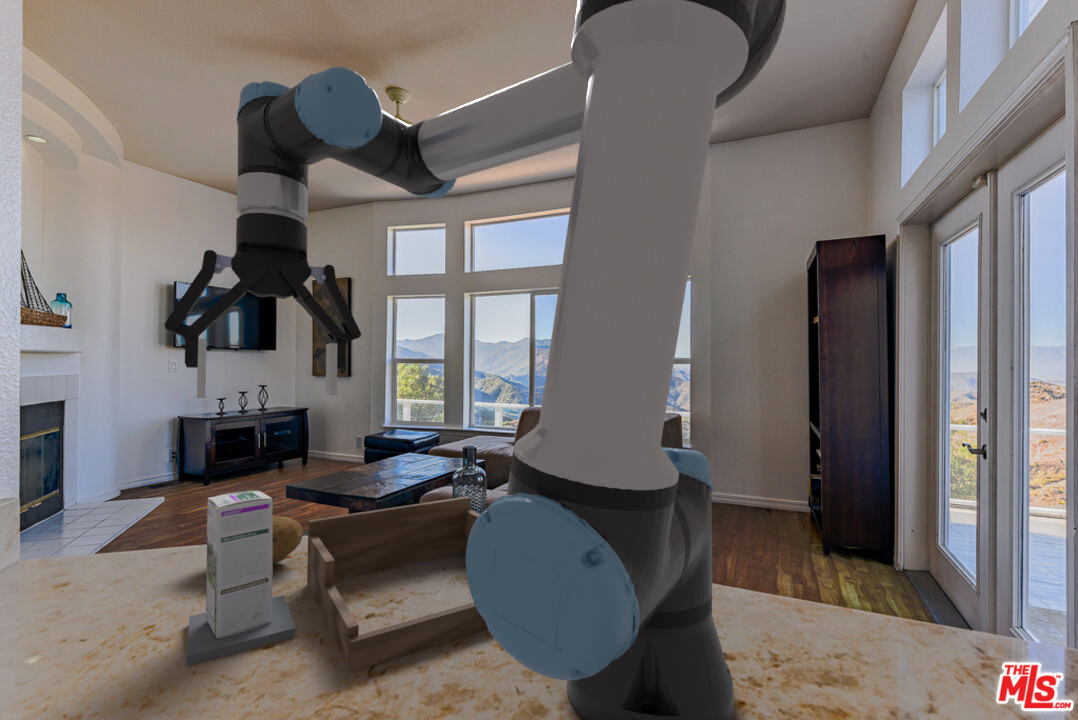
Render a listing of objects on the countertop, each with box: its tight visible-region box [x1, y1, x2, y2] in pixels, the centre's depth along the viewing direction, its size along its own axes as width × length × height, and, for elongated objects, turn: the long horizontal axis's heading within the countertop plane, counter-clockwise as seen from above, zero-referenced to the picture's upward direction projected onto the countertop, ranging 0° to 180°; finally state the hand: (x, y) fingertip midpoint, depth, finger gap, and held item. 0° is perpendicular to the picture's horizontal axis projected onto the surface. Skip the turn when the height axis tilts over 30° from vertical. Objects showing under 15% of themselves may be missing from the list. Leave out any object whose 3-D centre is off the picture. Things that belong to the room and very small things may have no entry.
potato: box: [204, 515, 304, 565], centre depth 76 cm, size 10×14×8 cm
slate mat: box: [186, 594, 296, 667], centre depth 57 cm, size 10×10×1 cm
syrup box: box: [205, 489, 273, 639], centre depth 57 cm, size 6×6×14 cm
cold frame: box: [306, 496, 488, 674], centre depth 66 cm, size 25×25×9 cm
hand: (270, 396), depth 58 cm, fingers open, 13 cm apart
